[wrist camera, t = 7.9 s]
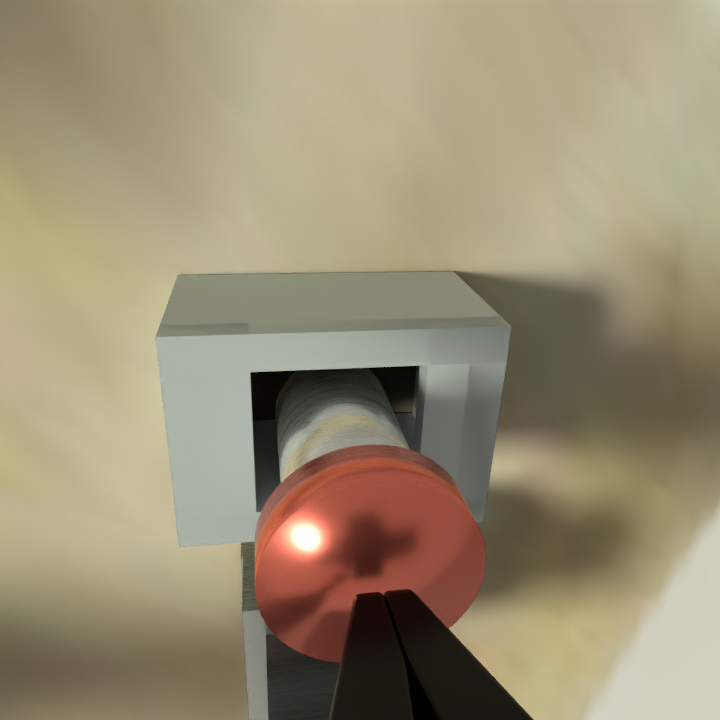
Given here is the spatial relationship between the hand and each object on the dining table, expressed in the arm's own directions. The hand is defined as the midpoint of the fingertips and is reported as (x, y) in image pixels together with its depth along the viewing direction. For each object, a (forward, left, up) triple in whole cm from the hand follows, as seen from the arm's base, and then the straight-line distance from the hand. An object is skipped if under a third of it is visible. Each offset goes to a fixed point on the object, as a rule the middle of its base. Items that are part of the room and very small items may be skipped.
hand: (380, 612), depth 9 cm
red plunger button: (0, 0, -6) cm, 6 cm away
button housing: (0, 0, -9) cm, 9 cm away
